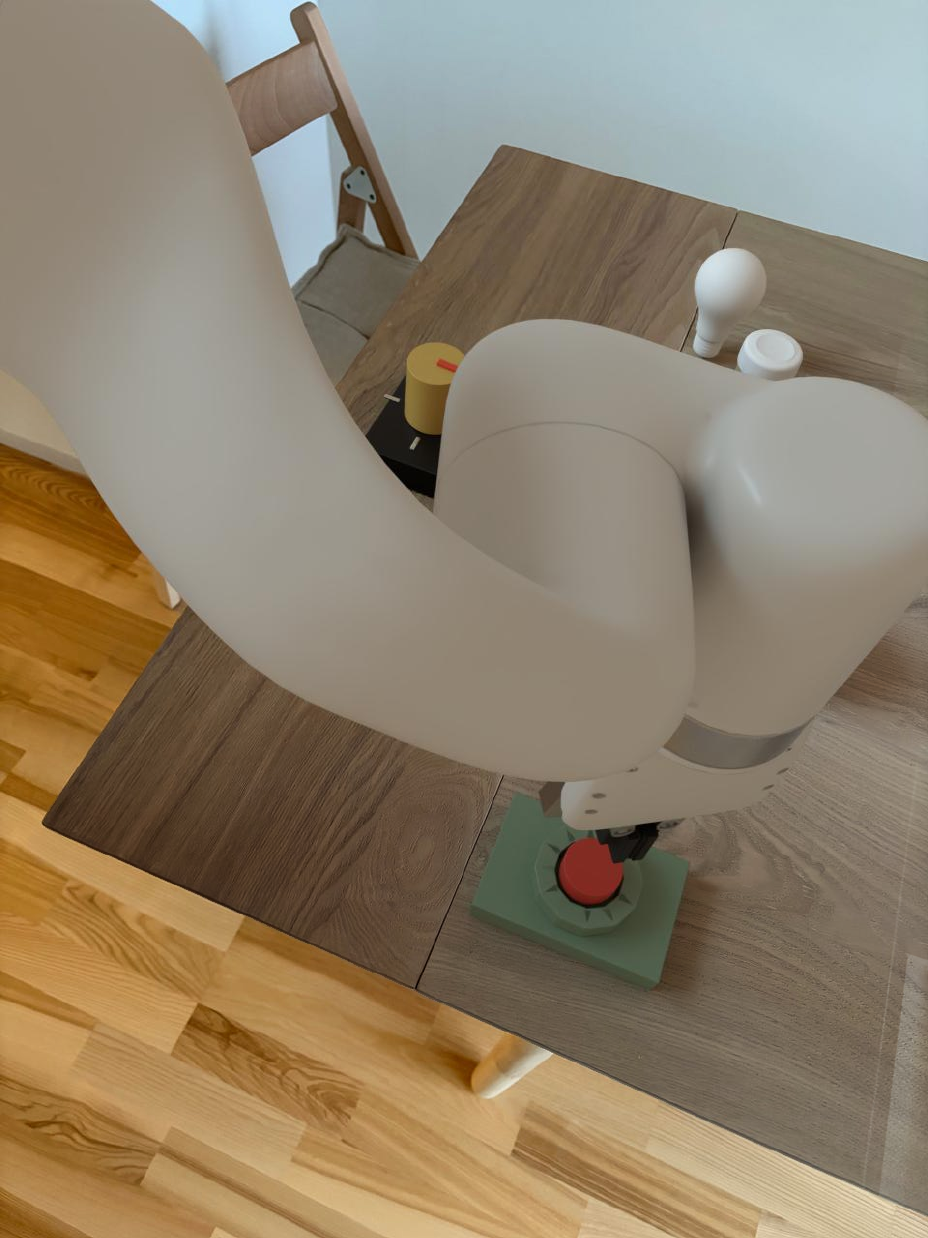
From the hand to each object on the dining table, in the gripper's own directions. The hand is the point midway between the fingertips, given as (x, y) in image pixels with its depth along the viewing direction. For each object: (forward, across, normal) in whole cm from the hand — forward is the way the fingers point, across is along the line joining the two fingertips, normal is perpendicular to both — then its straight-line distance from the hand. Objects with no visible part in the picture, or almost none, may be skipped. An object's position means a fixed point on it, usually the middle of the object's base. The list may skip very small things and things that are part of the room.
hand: (619, 835), depth 51 cm
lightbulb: (+11, -24, -48) cm, 55 cm away
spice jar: (+11, -20, -34) cm, 42 cm away
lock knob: (+8, +4, -40) cm, 41 cm away
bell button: (+7, 0, 0) cm, 7 cm away
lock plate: (+11, +4, -40) cm, 42 cm away
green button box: (+11, 0, 0) cm, 11 cm away
